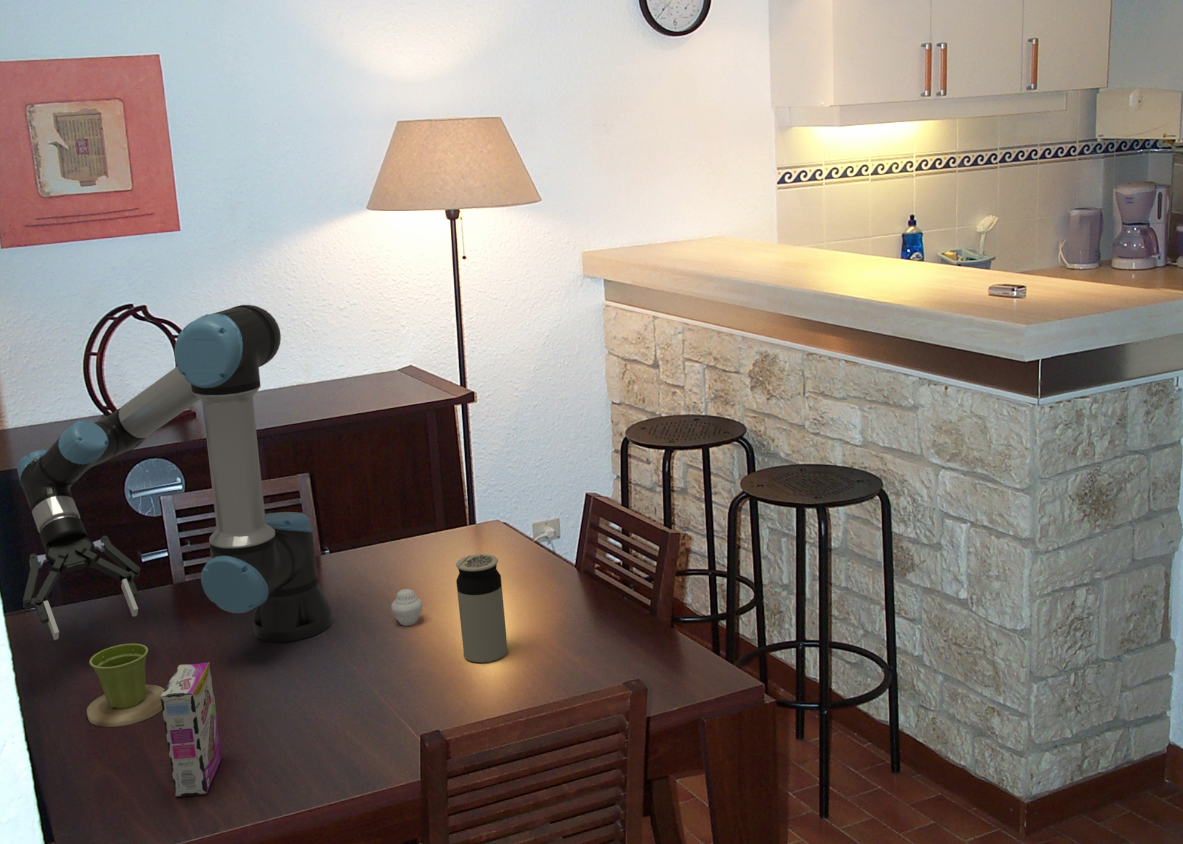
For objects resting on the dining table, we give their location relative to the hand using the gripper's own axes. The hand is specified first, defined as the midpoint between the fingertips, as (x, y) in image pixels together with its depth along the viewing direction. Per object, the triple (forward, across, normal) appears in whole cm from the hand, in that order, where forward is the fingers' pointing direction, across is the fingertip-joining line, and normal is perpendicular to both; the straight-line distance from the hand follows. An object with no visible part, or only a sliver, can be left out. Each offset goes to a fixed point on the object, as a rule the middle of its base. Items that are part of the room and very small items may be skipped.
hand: (96, 624), depth 213 cm
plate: (+17, 0, 0) cm, 17 cm away
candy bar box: (+40, -2, +23) cm, 46 cm away
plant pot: (+16, 0, +1) cm, 16 cm away
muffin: (+20, -53, +2) cm, 57 cm away
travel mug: (+36, -56, +18) cm, 69 cm away
